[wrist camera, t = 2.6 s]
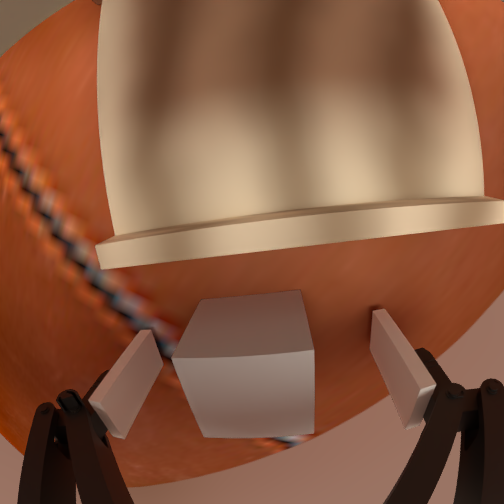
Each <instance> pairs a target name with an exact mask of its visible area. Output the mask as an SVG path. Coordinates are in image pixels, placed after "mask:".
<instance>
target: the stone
mask: <svg viewBox="0 0 504 504" xmlns="http://www.w3.org/2000/svg"><path fill="white" fill-rule="evenodd" d="M171 359H172V362H173V365H174V367H175V370H176V373H177V375H178V378H179V380H180V383H181V385H182V388H183V390H184V393H185V395H186V398H187V400H188V403H189V405H190V407H191V410H192V412H193V414H194V416H195V419H196V421H197V423H198V425H199V428H200V430H201V432H202V434H203V436H204V437H210V438H266V437H283V436H294V435H304V434H312V433H314V410H315V363H314V346H313V342H312V337H311V333H310V329H309V324H308V320H307V316H306V311H305V307H304V303H303V299H302V295H301V290H293V291H284V292H275V293H266V294H256V295H245V296H235V297H223V298H211V299H201V300H200V302H199V304H198V306H197V308H196V310H195V312H194V314H193V316H192V318H191V320H190V322H189V324H188V326H187V328H186V329H185V331H184V333H183V335H182V337H181V339H180V341H179V343H178V345H177V347H176V349H175V351H174V353H173V355H172V357H171Z"/></svg>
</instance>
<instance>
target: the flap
mask: <svg viewBox="0 0 504 504" xmlns="http://www.w3.org/2000/svg"><path fill="white" fill-rule="evenodd" d="M72 1H74V0H0V57H1V56H2V55H3V54H4V53H5V52H6V51H7V50H8V49H9V48H10V47H12V46H13V45H14V44H15V43H16V42H17V41H18V40H20V39H21V38H22V37H23V36H24V35H26V34H27V33H28V32H29V31H31V30H32V29H33V28H34V27H36V26H37V25H38V24H40V23H41V22H42V21H44V20H45V19H47V18H48V17H49V16H51V15H52V14H54V13H55V12H57V11H58V10H60V9H61V8H63V7H64V6H66V5H67V4H69V3H71V2H72ZM501 1H502V2H504V0H501Z"/></svg>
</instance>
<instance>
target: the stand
mask: <svg viewBox="0 0 504 504" xmlns="http://www.w3.org/2000/svg"><path fill="white" fill-rule="evenodd" d="M92 1H93V2H95V3H96V4H97V5H99V4H101V3H102V6H101V14H100V24H99V36H98V54H97V103H98V121H99V135H100V145H101V155H102V163H103V170H104V178H105V184H106V191H107V197H108V202H109V208H110V213H111V218H112V223H113V228H114V232H115V236H113V237H111V238H109V239H107V240H105V241H103V242H101V243H99V244H97V245H95V248H96V252H97V256H98V260H99V264H100V267H101V270H102V269H111V268H120V267H128V266H137V265H146V264H154V263H163V262H172V261H180V260H189V259H198V258H206V257H215V256H224V255H232V254H241V253H250V252H258V251H267V250H276V249H284V248H293V247H302V246H310V245H319V244H328V243H336V242H345V241H353V240H362V239H371V238H379V237H388V236H397V235H405V234H414V233H422V232H431V231H440V230H448V229H457V228H465V227H474V226H483V225H491V224H500V223H504V200H500V199H496V198H491V197H487V196H484V177H483V162H482V151H481V143H480V135H479V128H478V122H477V116H476V111H475V106H474V101H473V97H472V93H471V88H470V84H469V81H468V77H467V73H466V70H465V67H464V63H463V60H462V57H461V54H460V51H459V48H458V46H457V43H456V40H455V37H454V35H453V32H452V30H451V27H450V25H449V23H448V20H447V18H446V16H445V14H444V12H443V9H442V7H441V5H440V3H439V1H438V0H92Z"/></svg>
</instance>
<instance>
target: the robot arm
mask: <svg viewBox="0 0 504 504" xmlns="http://www.w3.org/2000/svg"><path fill="white" fill-rule="evenodd" d="M370 351H371V354H372V356H373V358H374V360H375V362H376V364H377V366H378V368H379V371H380V373H381V375H382V377H383V379H384V382H385V384H386V386H387V388H388V391H389V393H390V395H391V397H392V400H393V402H394V404H395V407H396V409H397V412H398V414H399V416H400V419H401V421H402V424H403V426H404V429H405V430H406V429H410V428H413V427H416V426H419V425H420V423H421V421H422V419H423V418H424V420H425V422H426V425H425V427H424V429H423V431H422V433H421V436H420V438H419V441H418V443H417V445H416V447H415V449H414V451H413V453H412V455H411V457H410V459H409V461H408V463H407V465H406V467H405V468H404V470H403V472H402V474H401V476H400V477H399V479H398V481H397V483H396V484H395V486H394V487H393V489H392V491H391V492H390V494H389V496H388V497H387V499H386V500H385V502H384V503H383V504H427V503H428V501H429V499H430V497H431V495H432V493H433V491H434V489H435V487H436V485H437V482H438V481H439V478H440V476H441V474H442V471H443V469H444V466H445V464H446V461H447V458H448V456H449V453H450V451H451V448H452V445H453V442H454V439H455V436H456V433H457V432H460V431H461V448H460V450H461V451H460V462H459V471H458V479H457V486H456V493H455V498H454V503H453V504H504V386H503V384H502V383H501V382H500V381H498V380H496V379H487V380H485V381H484V382H483V383H482V385H481V386H480V388H477V389H469V390H465V388H464V387H462V386H461V385H460V384H456V383H451V381H450V380H449V378H448V377H447V375H446V374H445V372H444V371H443V370H442V368H441V367H440V365H438V363H437V361H436V360H435V358H434V357H433V356H432V354H431V353H430V352H429V351H427V350H426V349H424V348H420V349H416V350H414V349H413V348H412V346H411V345H410V343H409V342H408V340H407V339H406V338H405V336H404V335H403V333H402V332H401V330H400V329H399V328H398V326H397V325H396V323H395V322H394V321H393V319H392V318H391V316H390V315H389V314H388V312H387V311H386V310H385V309H380V310H374V311H373V313H372V327H371V339H370ZM163 365H164V364H163V361H162V359H161V356H160V353H159V351H158V348H157V345H156V342H155V339H154V337H153V334H152V331H151V330H140V331H139V333H138V334H137V335H136V337H135V338H134V339H133V340H132V342H131V343H130V344H129V346H128V347H127V348H126V350H125V351H124V352H123V354H122V355H121V356H120V357H119V359H118V360H117V361H116V363H115V364H114V365H113V367H112V368H111V369H110V370H107V371H105V372H104V373H103V374H101V375H100V376H99V378H98V379H97V380H96V382H95V383H94V384H93V387H91V388H90V390H89V391H88V392H87V394H86V395H85V396H84V398H83V399H81V398H80V396H79V395H78V393H77V391H75V390H72V389H69V390H65V391H63V392H61V393H60V394H59V395H58V397H57V399H56V401H57V403H58V404H59V406H60V407H61V409H56V408H55V406H54V405H53V404H52V403H50V402H46V403H42V404H41V405H40V406H39V407H38V408H37V409H36V412H35V415H34V419H33V422H32V426H31V430H30V434H29V438H28V442H27V446H26V451H25V455H24V460H23V466H22V472H21V478H20V485H19V493H18V502H17V504H76V484H77V488H78V492H79V495H80V499H81V502H82V504H134V502H133V500H132V498H131V496H130V494H129V492H128V489H127V487H126V485H125V482H124V480H123V478H122V475H121V473H120V470H119V468H118V465H117V463H116V460H115V457H114V454H113V452H112V449H111V446H110V443H109V440H108V437H107V436H106V434H105V433H106V432H107V430H109V432H110V433H111V435H112V436H113V437H117V438H121V439H125V438H126V436H127V434H128V432H129V430H130V428H131V426H132V424H133V422H134V420H135V418H136V416H137V414H138V412H139V410H140V409H141V407H142V405H143V403H144V401H145V399H146V397H147V395H148V393H149V391H150V389H151V388H152V386H153V384H154V382H155V380H156V378H157V376H158V374H159V372H160V371H161V369H162V367H163ZM54 438H55V442H54Z"/></svg>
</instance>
